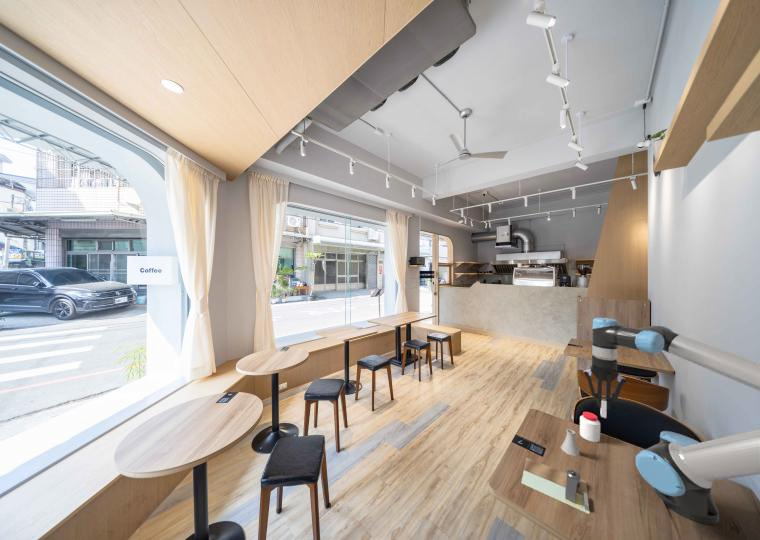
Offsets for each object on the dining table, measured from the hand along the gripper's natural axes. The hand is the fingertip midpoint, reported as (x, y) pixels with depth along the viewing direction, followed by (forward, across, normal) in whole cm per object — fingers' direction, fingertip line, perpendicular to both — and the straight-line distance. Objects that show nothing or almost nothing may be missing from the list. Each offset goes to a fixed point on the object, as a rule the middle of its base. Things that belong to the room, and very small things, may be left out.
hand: (603, 415), depth 100 cm
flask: (+25, +10, -8) cm, 28 cm away
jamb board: (+24, +16, +13) cm, 32 cm away
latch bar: (+23, +10, +17) cm, 30 cm away
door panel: (+24, +16, +21) cm, 36 cm away
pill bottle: (+25, +2, -28) cm, 37 cm away
